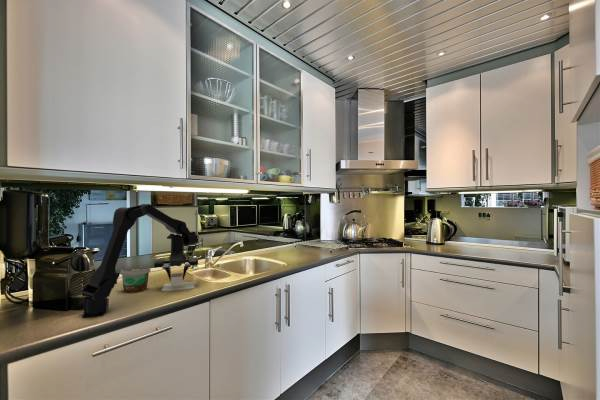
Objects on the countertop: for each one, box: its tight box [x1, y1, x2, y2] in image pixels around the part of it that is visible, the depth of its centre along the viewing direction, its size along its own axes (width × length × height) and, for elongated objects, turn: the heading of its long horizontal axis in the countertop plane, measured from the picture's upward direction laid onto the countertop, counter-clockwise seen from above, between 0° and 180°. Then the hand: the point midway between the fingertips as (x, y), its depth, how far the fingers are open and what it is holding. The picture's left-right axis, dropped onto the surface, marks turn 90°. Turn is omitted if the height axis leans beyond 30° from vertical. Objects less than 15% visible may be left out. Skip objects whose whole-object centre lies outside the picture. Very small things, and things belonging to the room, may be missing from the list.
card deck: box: [170, 272, 184, 286], centre depth 131 cm, size 5×7×4 cm
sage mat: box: [161, 281, 196, 292], centre depth 132 cm, size 14×10×1 cm
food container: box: [119, 267, 151, 294], centre depth 125 cm, size 12×6×10 cm, turn 105°
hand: (176, 280), depth 131 cm, fingers closed on card deck, 5 cm apart
